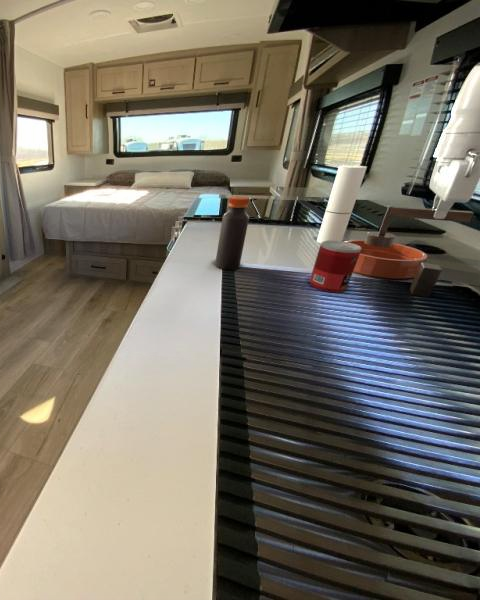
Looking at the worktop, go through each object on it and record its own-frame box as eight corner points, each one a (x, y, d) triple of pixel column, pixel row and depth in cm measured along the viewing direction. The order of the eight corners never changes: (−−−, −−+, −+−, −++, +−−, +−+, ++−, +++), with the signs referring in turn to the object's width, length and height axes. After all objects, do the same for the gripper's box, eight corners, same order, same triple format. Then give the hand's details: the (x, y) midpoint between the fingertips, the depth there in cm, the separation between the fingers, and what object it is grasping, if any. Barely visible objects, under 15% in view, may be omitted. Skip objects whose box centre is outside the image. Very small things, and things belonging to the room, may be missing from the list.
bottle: (241, 271, 96) (255, 200, 87) (216, 270, 97) (228, 200, 88) (236, 263, 101) (249, 195, 93) (213, 262, 103) (223, 195, 94)
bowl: (414, 264, 96) (422, 246, 94) (422, 286, 83) (432, 265, 81) (336, 253, 107) (341, 236, 104) (333, 271, 93) (339, 252, 91)
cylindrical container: (340, 240, 118) (365, 165, 107) (341, 246, 113) (368, 167, 101) (316, 238, 121) (338, 165, 110) (316, 243, 116) (339, 167, 105)
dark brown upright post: (426, 291, 81) (439, 264, 77) (428, 297, 78) (442, 270, 75) (409, 288, 82) (421, 262, 79) (411, 294, 79) (423, 267, 76)
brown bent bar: (450, 249, 76) (469, 209, 72) (455, 256, 72) (475, 214, 68) (364, 240, 84) (377, 204, 80) (364, 245, 81) (378, 207, 77)
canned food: (347, 295, 80) (363, 251, 75) (308, 288, 84) (321, 247, 79) (345, 283, 86) (360, 242, 81) (308, 278, 90) (320, 238, 85)
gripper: (506, 151, 58) (468, 228, 64) (476, 145, 73) (448, 209, 79) (455, 151, 62) (424, 225, 68) (436, 146, 76) (412, 207, 82)
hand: (436, 216), depth 73 cm, fingers closed on brown bent bar
